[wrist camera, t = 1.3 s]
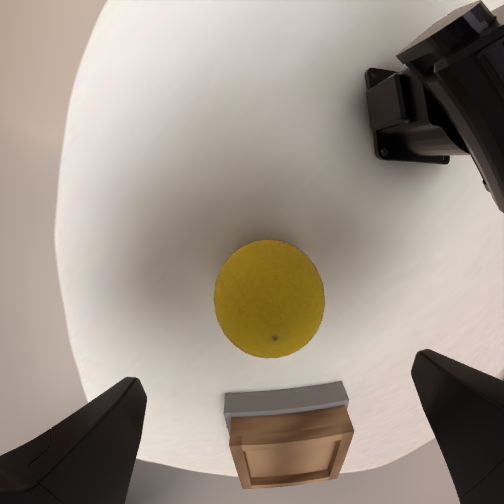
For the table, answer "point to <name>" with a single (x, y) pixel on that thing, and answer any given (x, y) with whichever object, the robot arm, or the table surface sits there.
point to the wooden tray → (290, 447)
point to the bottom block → (284, 401)
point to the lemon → (269, 299)
